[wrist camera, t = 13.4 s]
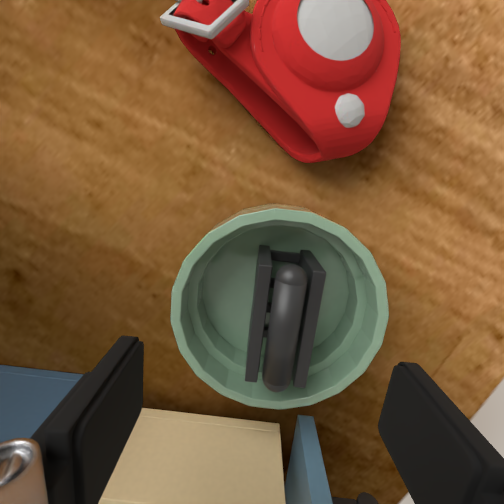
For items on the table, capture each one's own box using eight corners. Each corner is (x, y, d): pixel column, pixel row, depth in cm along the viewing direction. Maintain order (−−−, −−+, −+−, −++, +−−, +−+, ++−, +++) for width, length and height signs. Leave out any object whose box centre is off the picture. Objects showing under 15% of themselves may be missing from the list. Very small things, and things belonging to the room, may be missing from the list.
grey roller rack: (259, 240, 19) (259, 265, 13) (311, 246, 19) (331, 273, 13) (247, 338, 20) (243, 395, 15) (294, 343, 20) (307, 402, 15)
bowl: (194, 193, 19) (175, 196, 15) (378, 214, 19) (412, 223, 14) (184, 356, 22) (166, 396, 17) (343, 374, 22) (363, 419, 17)
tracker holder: (392, -77, 14) (444, 118, 14) (349, 5, 18) (388, 154, 18) (143, -57, 12) (199, 167, 12) (161, 28, 17) (202, 193, 16)
